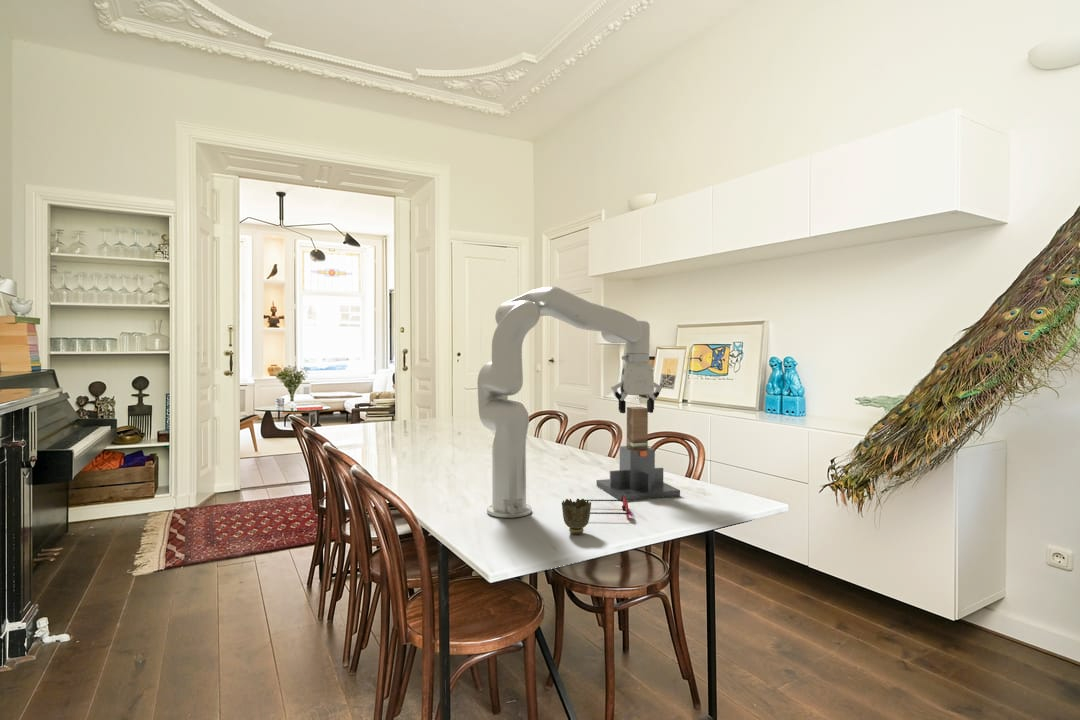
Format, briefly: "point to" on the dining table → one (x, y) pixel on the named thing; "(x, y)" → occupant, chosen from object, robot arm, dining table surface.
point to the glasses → (624, 507)
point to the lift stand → (637, 477)
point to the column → (637, 428)
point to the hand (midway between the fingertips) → (636, 412)
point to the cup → (576, 515)
